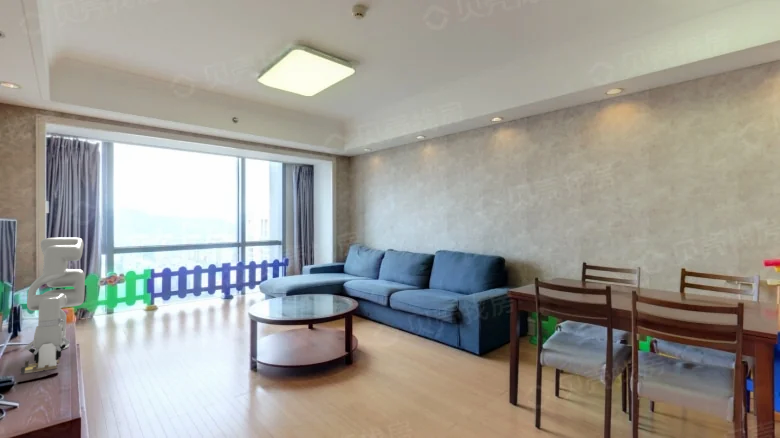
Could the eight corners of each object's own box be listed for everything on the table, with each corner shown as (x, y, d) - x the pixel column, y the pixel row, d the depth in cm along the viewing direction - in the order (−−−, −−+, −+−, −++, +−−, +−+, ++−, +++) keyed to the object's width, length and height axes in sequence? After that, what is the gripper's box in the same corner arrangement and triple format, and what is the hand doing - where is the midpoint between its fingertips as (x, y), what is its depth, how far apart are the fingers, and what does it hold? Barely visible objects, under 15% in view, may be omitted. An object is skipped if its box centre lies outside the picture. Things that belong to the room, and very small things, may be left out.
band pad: (26, 368, 171) (26, 367, 171) (36, 366, 173) (36, 365, 173) (23, 372, 166) (23, 372, 166) (33, 371, 168) (33, 370, 168)
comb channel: (25, 367, 172) (25, 360, 172) (59, 362, 179) (59, 356, 179) (20, 374, 164) (20, 367, 164) (56, 368, 171) (56, 362, 171)
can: (45, 370, 169) (46, 344, 169) (34, 368, 171) (35, 343, 171) (60, 365, 176) (61, 340, 176) (49, 363, 177) (50, 338, 177)
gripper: (74, 318, 181) (72, 354, 181) (25, 323, 171) (24, 361, 171) (72, 322, 175) (70, 359, 175) (21, 327, 165) (20, 367, 165)
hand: (47, 360), depth 173 cm, fingers closed on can, 6 cm apart
